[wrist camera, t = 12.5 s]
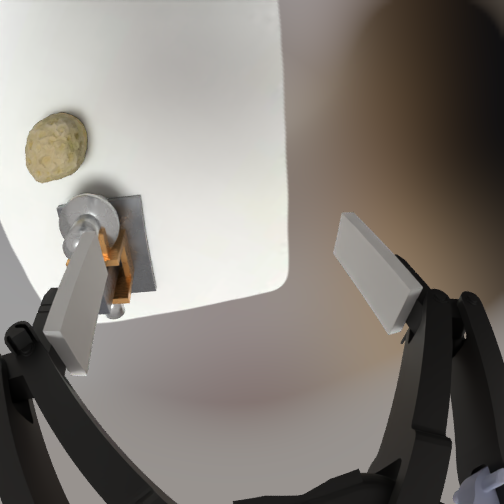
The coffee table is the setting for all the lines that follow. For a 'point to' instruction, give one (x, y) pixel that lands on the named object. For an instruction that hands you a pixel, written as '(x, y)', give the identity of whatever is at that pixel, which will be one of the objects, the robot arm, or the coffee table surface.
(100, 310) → the dark gray rectangular block
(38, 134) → the decorative object
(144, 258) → the multicoloured piece
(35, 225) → the coffee table surface
